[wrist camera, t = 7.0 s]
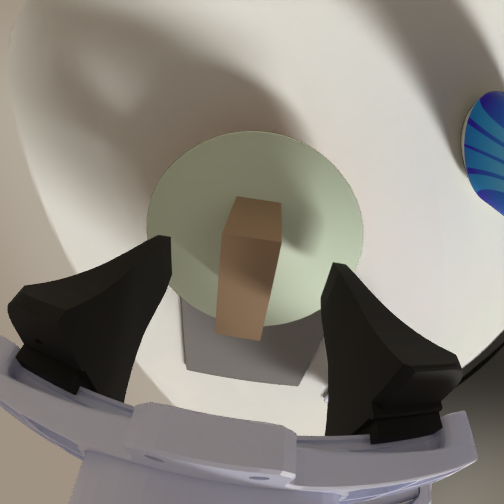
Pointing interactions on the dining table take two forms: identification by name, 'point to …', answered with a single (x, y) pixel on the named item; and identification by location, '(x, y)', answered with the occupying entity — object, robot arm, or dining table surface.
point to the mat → (251, 349)
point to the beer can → (486, 148)
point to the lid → (255, 228)
